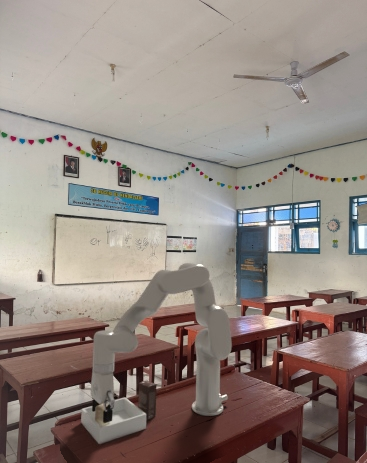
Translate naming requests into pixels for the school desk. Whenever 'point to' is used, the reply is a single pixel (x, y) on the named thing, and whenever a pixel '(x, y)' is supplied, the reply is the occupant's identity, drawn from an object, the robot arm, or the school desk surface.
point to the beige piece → (100, 415)
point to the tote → (115, 421)
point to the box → (147, 398)
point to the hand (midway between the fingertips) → (101, 415)
